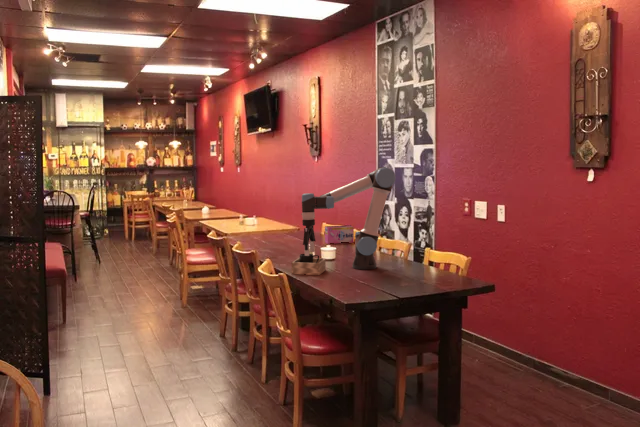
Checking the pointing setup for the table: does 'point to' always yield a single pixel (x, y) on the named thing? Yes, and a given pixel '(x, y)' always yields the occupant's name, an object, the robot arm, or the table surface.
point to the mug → (307, 258)
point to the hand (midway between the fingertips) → (309, 253)
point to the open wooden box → (309, 267)
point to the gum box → (339, 234)
